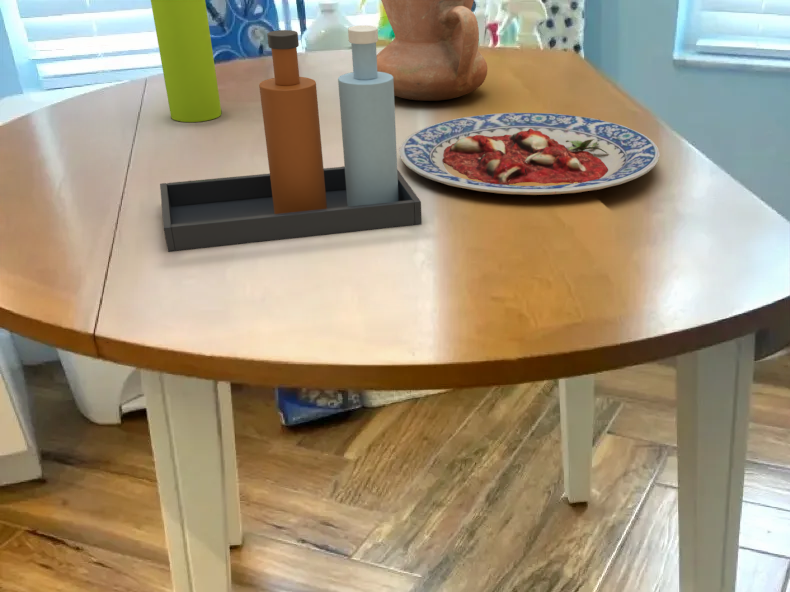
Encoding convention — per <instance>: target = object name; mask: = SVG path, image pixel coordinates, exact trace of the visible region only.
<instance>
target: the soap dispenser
mask: <svg viewBox="0 0 790 592" xmlns="http://www.w3.org/2000/svg"><path fill="white" fill-rule="evenodd" d="M150 4H151V10H152V16H153V22H154V27H155V33H156V39H157V44H158V50H159V57H160V61H161V67H162V68H161V69H162V73H163V74H162V75H163V81H164V84H165V85H164V86H165V91H166V96H167V102H168V107H169V108H168V109H169V113H170V114H169V115H170V118H171V119H172V120H174V121H176V122H182V123H200V122H206V121H212V120H214V119H215V120H216V119H218V118H219V117H220V116H222V106H221V99H220V92H219V87H218V85H219V84H218V77H217V72H216V66H215V65H216V64H215V57H214V51H213V44H212V38H211V30H210V23H209V17H208V9H207V4H206V0H150Z"/></svg>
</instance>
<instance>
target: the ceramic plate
mask: <svg viewBox="0 0 790 592" xmlns="http://www.w3.org/2000/svg"><path fill="white" fill-rule="evenodd" d="M398 152H399V157H400V160H401V161H402V163H403V164H404V165H405V166H406V167H407V168H408V169H410V170H411V171H413V172H414V173H416V174H418V175H419V176H421V177H424V178H426V179H428V180H432V181H434V182H437V183H441V184H444V185H447V186H450V187H455V188H460V189H461V188H462V189H467V190H471V191H476V192H485V193H494V194H503V195H525V196H537V195H538V196H539V195H540V196H542V195H543V196H544V195H561V194H564V195H565V194H576V193H582V192H584V193H585V192H588V191H589V192H591V191H597V190H602V189H606V188H611V187H615V186H619V185H623V184H626V183H628V182H630V181H633V180H636V179H639V178H640V177H642V176H644V175H646V174H648V173H649V172H650V171H651V170H653V169H654V168H655V166H656V165H657V164H658V162H659V159H660V155H661V154H660V150H659V147H658V146H657V144H656V142H654V141H653V140H652V139H650V138H649V137H648V136H646V135H645V134H644V133H641V132H639V131H637V130H634V129H632V128H629V127H627V126H625V125H623V124H622V125H621V124H619V123H615V122H611V121H606V120H601V119H599V118H594V117H587V116H579V115H570V114H562V113H547V112H546V113H545V112H501V113H500V112H499V113H488V114H479V115H472V116H471V115H470V116H464V117H459V118H453V119H449V120H445V121H441V122H437V123H434V124H431V125H428V126H425V127H423V128H422V129H419V130H416V131H415V132H413V133H411V134H410V135H408V136H407V137H406V138H405V139H404V140H403V141H402V143H401V145H400V146H399V149H398ZM444 164H445V165H448V166H449V167H451V168H452V169H453V170H454V171H456V172H457V173H459V174H460V175H464V176H466V178H463V177H459V176H456V175H454V174H452V173H451V172H449V171H448V170H447V168H446V167H445V165H444ZM521 183H538V184H544V185H517V184H521ZM562 183H563V184H562ZM545 184H551V185H545ZM552 184H554V185H552ZM555 184H557V185H555Z"/></svg>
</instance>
